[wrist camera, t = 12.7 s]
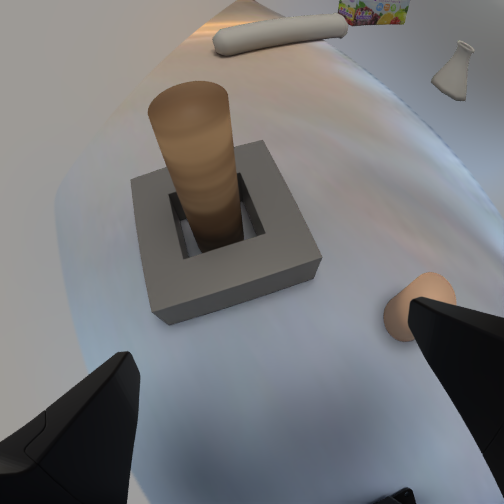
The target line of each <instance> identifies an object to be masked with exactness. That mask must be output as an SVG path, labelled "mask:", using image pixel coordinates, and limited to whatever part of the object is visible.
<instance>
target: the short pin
mask: <svg viewBox="0 0 504 504" xmlns="http://www.w3.org/2000/svg"><path fill="white" fill-rule="evenodd" d="M417 297H426V298H430V299H434V300H437V301H441V302H445V303H449V304H453V305H456V297H455V293H454V290H453V288H452V286H451V285H450V283H449V282H448V281H447V280H446V279H445V278H444V277H443V276H441V275H439V274H437V273H432V272H428V273H424V274H422V275H420V276H419V277H417V278H416V279H415V280H414V281H413V282H412V283H410V284H409V285H408V286H407V287H406V288H404V289H403V290H402V291H401V292H400V293H398V294H397V295H396V296H395V297H394V298H392V299H391V300H390V301H389V302H388V304H387V305H386V307H385V310H384V324H385V327H386V329H387V331H388V333H389V334H390V335H391V336H392V337H393V338H395V339H396V340H398V341H402V342H408V341H412V340H414V339H415V338H414V336H413V334H412V333H411V331H410V329H409V327H408V313H409V304H410V301H411V300H412V299H414V298H417Z"/></svg>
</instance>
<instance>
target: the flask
mask: <svg viewBox="0 0 504 504" xmlns="http://www.w3.org/2000/svg"><path fill="white" fill-rule="evenodd" d="M457 44H458V47H457V50H456V52H455V54H454V55H453V57H452V58H451V59H450V60H449V61H448V62H447V64H445V66H444V67H443V68H442V69H440V71H438V72H437V73H436V74H435V75H434V77H433V78H432V80H431V83H433V85H435V86H436V87H437V88H438V89H439V90H440V91H441V92H442V93H444V94H446V95H448V96H449V97H451V98H452V99H454V100H456V101H465V100H466V90H467V71H468V64H469V59H470V56H471V54H472V53H474V49H473V48H472V47H470V46H469V45H468V44H466V43H464V42H462V41H458V43H457Z"/></svg>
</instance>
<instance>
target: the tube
mask: <svg viewBox="0 0 504 504" xmlns="http://www.w3.org/2000/svg"><path fill="white" fill-rule="evenodd" d="M347 30H348V23H347V22H346V20H345V18H344V17H343V16H342V15H340V14H338V13H333V14H321V15H307V16H297V17H287V18H279V19H272V20H265V21H259V22H253V23H248V24H243V25H238V26H233V27H228V28H224V29H220V30H219V31H218V32H217V33H216V34H215V36H214V37H213V39H212V40H213V44H214V47H215V50H216V53H219V54H221V55H224V56H231V55H235V54H239V53H243V52H247V51H252V50H257V49H261V48H266V47H272V46H277V45H283V44H289V43H295V42H302V41H310V40H318V39H329V38H340V39H341V38H343V37H344V36H345V35H346V34H347Z"/></svg>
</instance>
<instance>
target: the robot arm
mask: <svg viewBox="0 0 504 504" xmlns="http://www.w3.org/2000/svg"><path fill="white" fill-rule="evenodd" d="M408 327H409V329H410V331H411V333H412V334H413V336H414V338H415V340H416V342H417V344H418V346H419V348H420V350H421V351H422V353H423V355H424V357H425V359H426V361H427V362H428V364H429V366H430V367H431V369H432V370H433V372H434V373H435V375H436V376H437V378H438V380H439V381H440V383H441V384H442V386H443V387H444V389H445V391H446V392H447V394H448V395H449V397H450V399H451V400H452V402H453V404H454V405H455V407H456V409H457V410H458V412H459V414H460V415H461V417H462V419H463V420H464V422H465V424H466V426H467V427H468V429H469V431H470V433H471V434H472V436H473V438H474V440H475V442H476V443H477V445H478V447H479V449H480V451H481V453H482V454H483V457H484V459H485V461H486V463H487V464H488V466H489V468H490V470H491V472H492V474H493V476H494V478H495V481H496V483H497V485H498V487H499V489H500V491H501V493H502V495H503V497H504V318H502V317H498V316H495V315H491V314H487V313H483V312H479V311H476V310H472V309H468V308H464V307H460V306H456V305H453V304H449V303H445V302H441V301H437V300H434V299H430V298H426V297H417V298H414V299H412V300H411V301H410V304H409V313H408ZM139 391H140V372H139V370H138V368H137V365H136V363H135V361H134V358H133V356H132V354H131V353H130V352H128V351H126V352H117V353H116V354H115V355H113V356H112V357H111V358H109V359H108V360H107V361H106V362H104V363H103V364H102V365H101V366H99V367H98V368H97V369H96V370H94V371H93V372H92V373H91V374H89V375H88V376H87V377H85V378H84V379H83V380H82V381H80V382H79V383H78V384H77V385H75V386H74V387H73V388H72V389H70V390H69V391H68V392H67V393H66V394H64V395H63V396H62V397H60V398H59V399H58V400H57V401H56V402H54V403H53V404H52V405H51V406H49V407H48V408H47V409H46V411H45V410H44V411H43V412H41V413H40V414H39V415H38V416H37V417H35V418H34V419H33V420H31V421H30V422H29V423H27V424H26V425H25V426H23V427H22V428H20V429H19V430H17V431H16V432H14V433H13V434H12V435H10V436H8V437H7V438H6V439H4V440H2V441H1V442H0V504H127V497H128V488H129V478H130V470H131V462H132V455H133V448H134V441H135V434H136V428H137V421H138V410H139ZM406 492H408V494H407V495H405V493H406ZM374 504H416V501H415V497H414V494H413V491H412V489H410V488H405V489H403V490H401V491H399V492H397V493H396V494H394V495H392V496H388V497H386V498H384V499H382V500H380V501H378V502H376V503H374Z"/></svg>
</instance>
